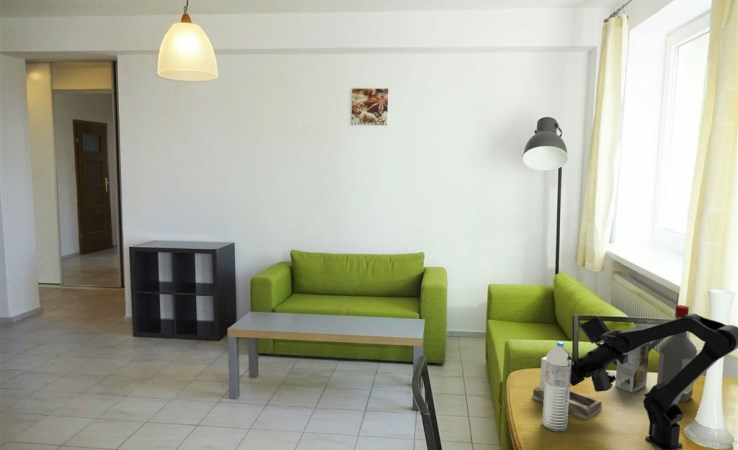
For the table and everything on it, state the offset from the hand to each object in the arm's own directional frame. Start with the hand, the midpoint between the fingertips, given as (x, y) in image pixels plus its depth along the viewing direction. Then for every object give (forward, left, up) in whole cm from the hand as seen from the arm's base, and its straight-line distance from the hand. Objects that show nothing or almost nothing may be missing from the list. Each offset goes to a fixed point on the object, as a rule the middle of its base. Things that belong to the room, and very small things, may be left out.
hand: (563, 379), depth 161 cm
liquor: (-9, -39, -8) cm, 41 cm away
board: (-1, 0, -7) cm, 7 cm away
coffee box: (+1, -31, -8) cm, 32 cm away
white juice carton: (+3, +1, -6) cm, 7 cm away
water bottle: (-11, +13, -8) cm, 19 cm away
